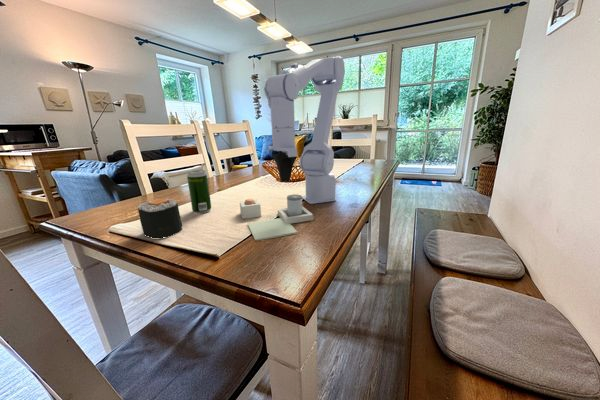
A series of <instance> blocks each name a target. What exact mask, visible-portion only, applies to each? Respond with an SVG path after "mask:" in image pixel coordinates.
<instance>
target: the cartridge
mask: <svg viewBox="0 0 600 400" xmlns="http://www.w3.org/2000/svg"><path fill="white" fill-rule="evenodd" d="M302 196H303V195H301V194H295V193H293V194H288V195H287V196H286V200H287V201H286V205H287V207H286V208H287V211H288V214H287V216H288V217H292V216H298V215H303V214H302V206H303V198H302Z"/></svg>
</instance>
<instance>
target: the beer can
mask: <svg viewBox="0 0 600 400" xmlns="http://www.w3.org/2000/svg"><path fill="white" fill-rule="evenodd" d="M186 174H187V175H186V179H187V185H188V190H189V191H188V192H189V197H190V203H191V210H192V212H193V214H200V215H201V214H205V213H209V212H211V211H212V201H211V195H210V188H209V179H208V174H207V171H206V170H204V169H203V170H202V169H195V170H190V171H187V172H186Z"/></svg>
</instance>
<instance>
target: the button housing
mask: <svg viewBox="0 0 600 400" xmlns="http://www.w3.org/2000/svg"><path fill="white" fill-rule="evenodd" d="M253 200H254V204H251V205H245V200H242V201H241V200H240V201H239V209H240V210H239V211H240V214H241V217H242V219H250V218H258V217H259V218H260V217H262V210H261V209H262V208H261V203H260V202H259V201H258V199H253Z"/></svg>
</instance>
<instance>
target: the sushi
mask: <svg viewBox="0 0 600 400" xmlns="http://www.w3.org/2000/svg"><path fill="white" fill-rule="evenodd" d="M136 208H137V210H138V216H139V220H140V225H141V229H142V232H143V235H146V236H149V237H152V238H163V237H167V238H169V237H168V236H170V237H172V236H174V235H176V234H178V233H180V232H182V230H183V223H182V217H181V213H180V209H179V205H178V201H176V200H175V199H173V198H171V199H170V198H156V199H154V200H150V199H149V200H148V199H147V200H146V201H145V202H143V203H139V204H138V205H137V206H136ZM173 234H174V235H173ZM171 235H172V236H171ZM146 236H145V237H146ZM163 239H164V238H163Z"/></svg>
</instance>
